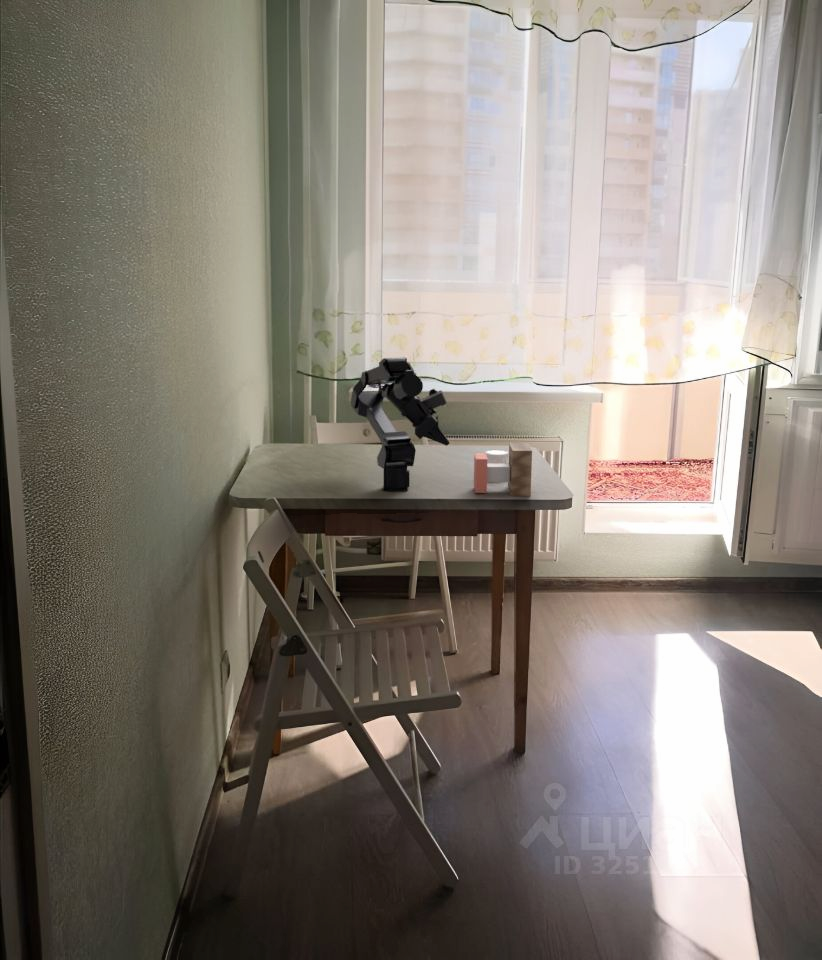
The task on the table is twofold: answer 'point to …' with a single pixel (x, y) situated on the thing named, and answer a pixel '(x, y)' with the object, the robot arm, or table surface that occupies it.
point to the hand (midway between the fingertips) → (448, 444)
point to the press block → (520, 469)
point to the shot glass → (497, 456)
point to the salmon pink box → (488, 472)
